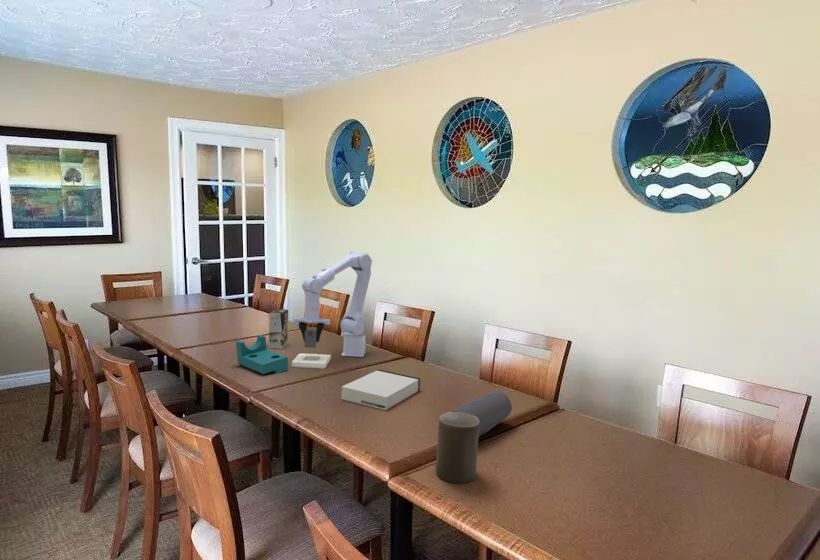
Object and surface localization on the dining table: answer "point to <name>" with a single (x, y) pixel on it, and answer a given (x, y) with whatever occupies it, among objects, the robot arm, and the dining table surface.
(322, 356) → the socket
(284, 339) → the coffee box
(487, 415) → the bluetooth speaker
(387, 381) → the disc drive
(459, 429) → the pillar candle
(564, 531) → the dining table surface
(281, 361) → the teal l-shaped bracket
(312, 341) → the plug
